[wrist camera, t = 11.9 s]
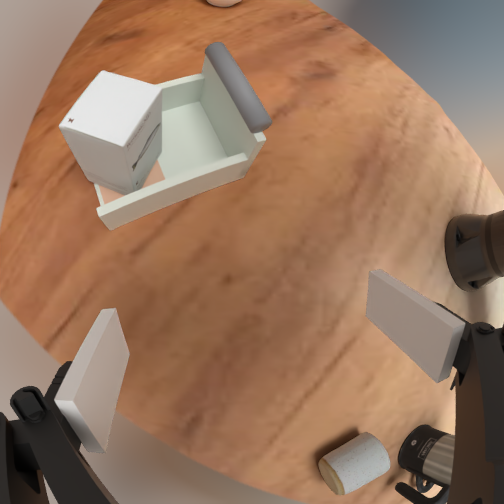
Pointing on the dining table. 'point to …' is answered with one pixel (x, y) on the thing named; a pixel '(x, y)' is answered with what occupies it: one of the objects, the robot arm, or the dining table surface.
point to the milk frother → (427, 464)
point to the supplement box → (116, 131)
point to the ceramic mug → (354, 464)
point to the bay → (196, 139)
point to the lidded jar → (223, 2)
